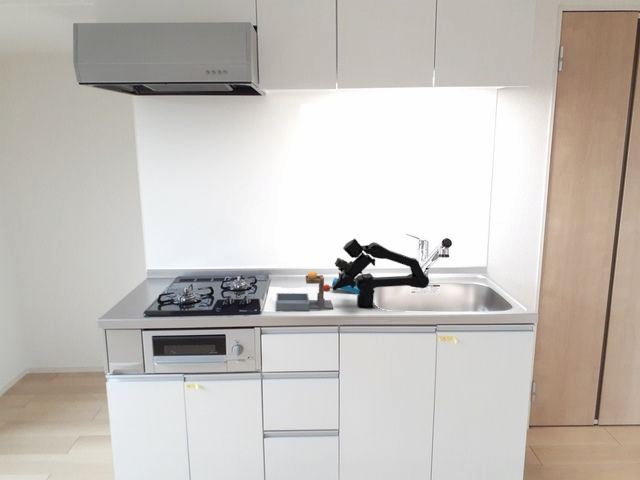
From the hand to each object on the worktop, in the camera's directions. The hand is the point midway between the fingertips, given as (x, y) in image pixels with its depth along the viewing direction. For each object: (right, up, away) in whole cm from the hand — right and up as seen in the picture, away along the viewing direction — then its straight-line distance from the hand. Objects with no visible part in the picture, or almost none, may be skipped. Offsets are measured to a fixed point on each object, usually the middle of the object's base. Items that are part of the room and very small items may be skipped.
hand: (332, 289), depth 203 cm
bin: (-18, -7, 0) cm, 19 cm away
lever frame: (-5, -7, +1) cm, 9 cm away
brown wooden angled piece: (-8, -5, 0) cm, 10 cm away
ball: (-9, +6, -2) cm, 11 cm away
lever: (+5, -4, +24) cm, 24 cm away
